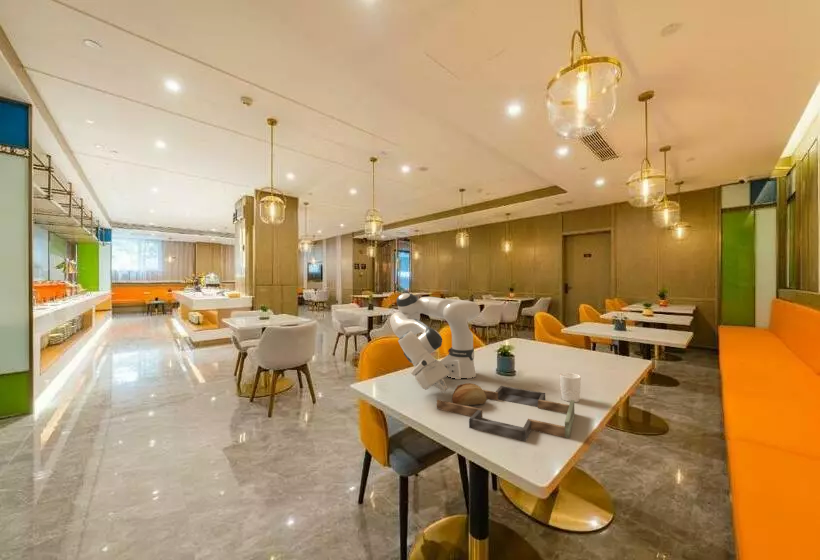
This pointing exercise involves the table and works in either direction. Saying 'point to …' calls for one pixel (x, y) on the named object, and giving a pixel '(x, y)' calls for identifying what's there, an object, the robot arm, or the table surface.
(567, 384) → the white cup
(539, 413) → the table surface
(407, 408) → the table surface
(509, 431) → the box
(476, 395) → the bread roll
